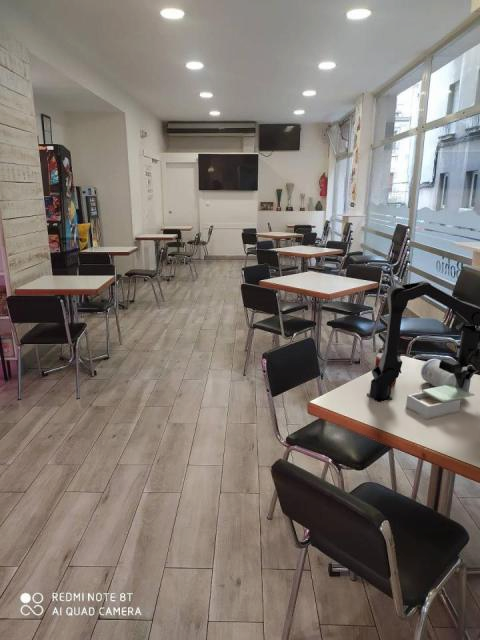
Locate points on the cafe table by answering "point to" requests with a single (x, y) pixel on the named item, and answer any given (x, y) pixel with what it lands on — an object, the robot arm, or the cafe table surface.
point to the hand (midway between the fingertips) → (462, 387)
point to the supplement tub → (436, 374)
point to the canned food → (378, 364)
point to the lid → (450, 391)
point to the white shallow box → (431, 406)
